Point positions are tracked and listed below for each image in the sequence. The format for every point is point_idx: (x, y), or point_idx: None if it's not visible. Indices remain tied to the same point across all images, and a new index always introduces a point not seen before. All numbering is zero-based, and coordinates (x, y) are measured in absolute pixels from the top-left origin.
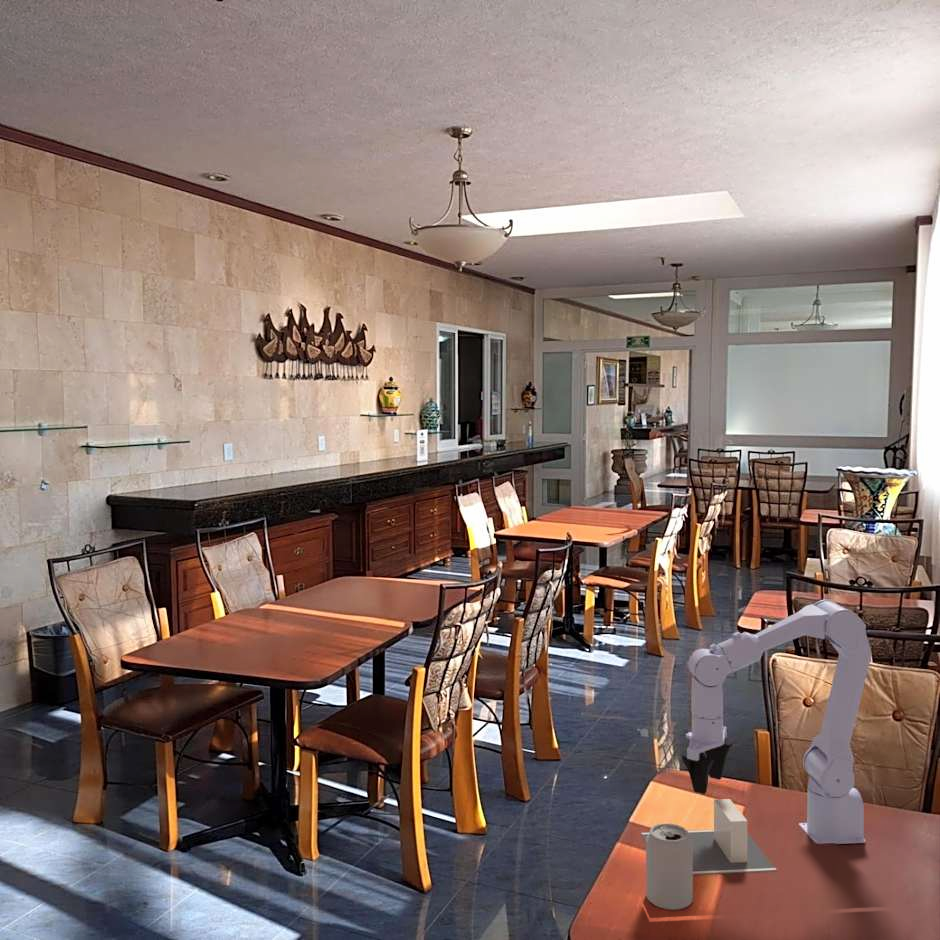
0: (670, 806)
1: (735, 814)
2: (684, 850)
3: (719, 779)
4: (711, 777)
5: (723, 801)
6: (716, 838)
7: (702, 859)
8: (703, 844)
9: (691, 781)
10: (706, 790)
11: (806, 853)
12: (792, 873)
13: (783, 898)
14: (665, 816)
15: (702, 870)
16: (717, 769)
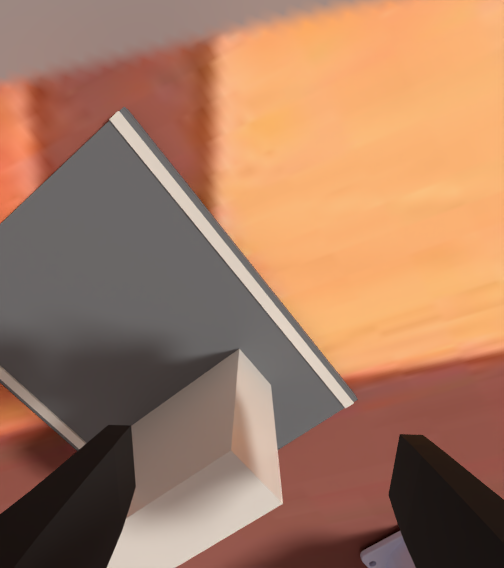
0: (435, 108)
1: (133, 562)
2: None
3: (389, 493)
4: (397, 447)
5: (237, 489)
6: (219, 368)
7: (90, 363)
8: (181, 335)
9: (52, 473)
10: (128, 508)
11: (306, 540)
12: None
13: None
14: (335, 128)
15: (31, 383)
16: (431, 555)
